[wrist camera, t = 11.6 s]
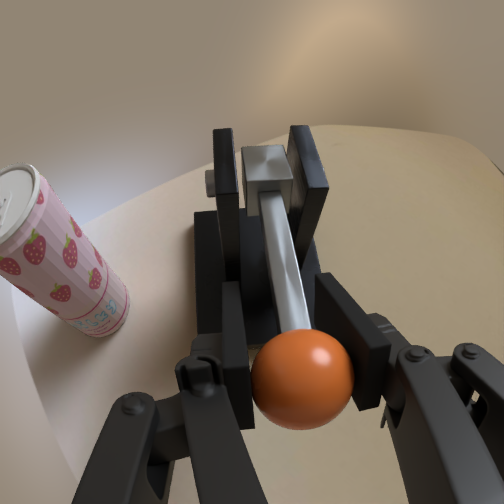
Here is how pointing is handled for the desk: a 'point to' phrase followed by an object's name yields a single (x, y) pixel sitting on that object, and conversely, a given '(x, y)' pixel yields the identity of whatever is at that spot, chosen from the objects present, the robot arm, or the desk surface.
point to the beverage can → (55, 256)
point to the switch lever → (290, 311)
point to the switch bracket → (254, 238)
